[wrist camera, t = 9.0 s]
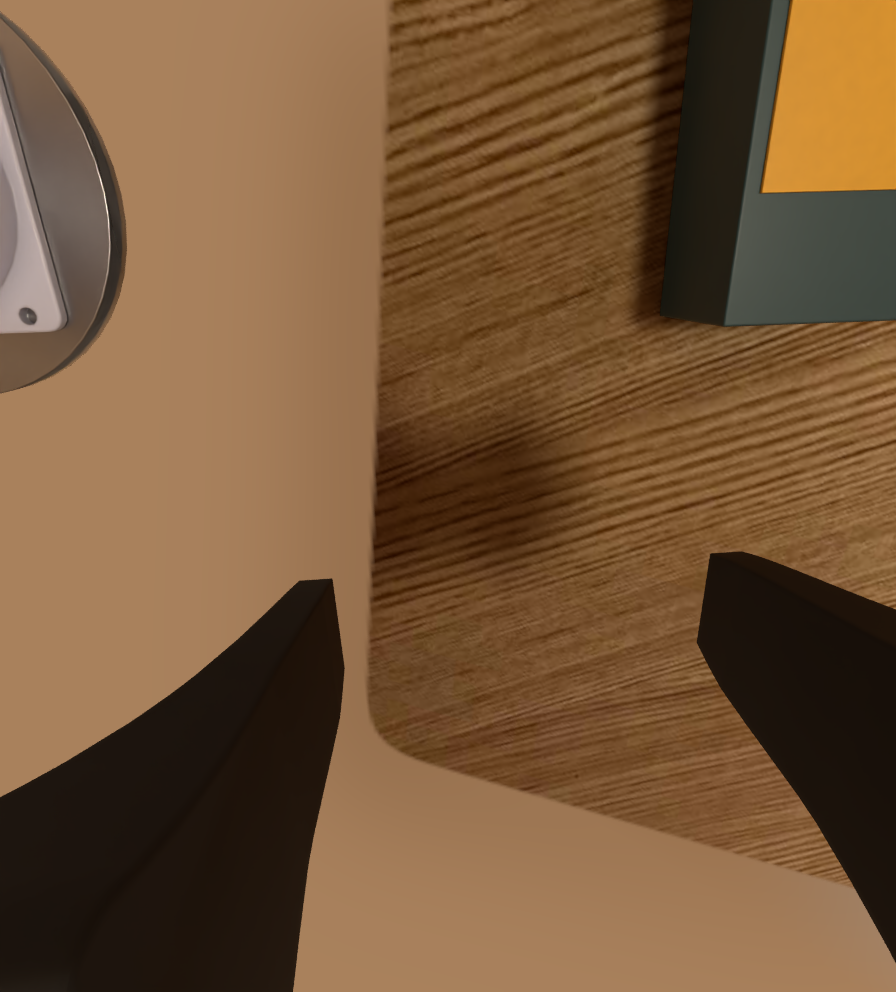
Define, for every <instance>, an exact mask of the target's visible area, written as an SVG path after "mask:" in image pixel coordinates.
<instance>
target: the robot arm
mask: <svg viewBox="0 0 896 992" xmlns="http://www.w3.org/2000/svg"><path fill="white" fill-rule="evenodd" d="M29 308H30V309H31V310H33V311H34V312H35V314H36V316H37V321H36V322H35V323H33V322H32V321H30V320H29V318H28V316H27V310H28V309H29ZM66 322H67V314H66V310H65V307H64V303H63V299H62V296H61V292H60V288H59V285H58V281H57V277H56V274H55V270H54V266H53V263H52V259H51V255H50V252H49V248H48V244H47V241H46V237H45V233H44V230H43V226H42V222H41V219H40V215H39V211H38V208H37V204H36V200H35V197H34V193H33V189H32V186H31V182H30V178H29V175H28V171H27V167H26V164H25V160H24V156H23V153H22V149H21V145H20V142H19V138H18V134H17V131H16V127H15V123H14V120H13V116H12V112H11V109H10V105H9V101H8V98H7V94H6V90H5V87H4V83H3V79H2V76H1V72H0V334H5V333H33V332H52V331H57V330H61V329H62V328H63V327H64V326H65V325H66ZM697 644H698V646H699V648H700V650H701V652H702V654H703V656H704V658H705V660H706V662H707V664H708V666H709V668H710V670H711V671H712V673H713V675H714V677H715V679H716V680H717V682H718V684H719V686H720V688H721V689H722V691H723V692H724V694H725V695H726V696H727V698H728V699H729V701H730V702H731V704H732V705H733V706H734V708H735V709H736V711H737V712H738V713H739V715H740V716H741V718H742V719H743V720H744V722H745V723H746V725H747V726H748V727H749V729H750V730H751V732H752V733H753V734H754V736H755V737H756V738H757V740H758V741H759V743H760V744H761V745H762V747H763V748H764V749H765V751H766V752H767V753H768V755H769V756H770V758H771V759H772V760H773V762H774V763H775V764H776V766H777V767H778V769H779V770H780V771H781V773H782V774H783V776H784V777H785V778H786V780H787V781H788V782H789V784H790V785H791V787H792V788H793V789H794V791H795V792H796V793H797V795H798V796H799V798H800V799H801V801H802V802H803V804H804V805H805V807H806V808H807V810H808V811H809V813H810V814H811V816H812V817H813V819H814V820H815V822H816V823H817V825H818V827H819V828H820V830H821V832H822V833H823V835H824V837H825V838H826V840H827V842H828V844H829V845H830V847H831V849H832V850H833V852H834V854H835V855H836V857H837V859H838V860H839V862H840V864H841V865H842V867H843V869H844V871H845V872H846V874H847V876H848V877H849V879H850V881H851V882H852V884H853V886H854V888H855V890H856V891H857V893H858V895H859V897H860V899H861V900H862V902H863V904H864V906H865V908H866V909H867V911H868V913H869V915H870V917H871V918H872V920H873V922H874V924H875V926H876V927H877V929H878V931H879V933H880V935H881V936H882V938H883V940H884V942H885V944H886V945H887V947H888V949H889V951H890V953H891V955H892V957H893V959H894V960H895V962H896V609H893V608H890V607H888V606H885V605H882V604H880V603H877V602H874V601H872V600H869V599H867V598H864V597H862V596H859V595H857V594H854V593H851V592H849V591H846V590H844V589H841V588H839V587H836V586H834V585H831V584H829V583H826V582H824V581H822V580H819V579H817V578H814V577H812V576H809V575H807V574H804V573H802V572H799V571H797V570H794V569H791V568H789V567H786V566H784V565H781V564H778V563H776V562H773V561H770V560H768V559H765V558H762V557H759V556H756V555H753V554H749V553H745V552H727V553H711V554H710V559H709V566H708V572H707V579H706V585H705V592H704V598H703V605H702V612H701V618H700V625H699V631H698V638H697ZM344 669H345V668H344V661H343V654H342V646H341V639H340V631H339V624H338V616H337V610H336V602H335V594H334V587H333V580H332V579H320V580H305V581H299V582H298V583H297V584H295V585H294V586H293V587H292V588H291V589H290V590H289V591H288V592H287V593H286V594H285V595H284V596H283V597H282V598H281V599H280V600H279V601H278V602H277V603H276V604H275V605H274V606H273V607H272V608H270V609H269V610H268V612H266V613H265V614H264V615H263V616H262V617H261V618H260V619H259V620H258V621H257V622H256V623H255V624H254V625H253V626H252V627H250V628H249V629H248V630H247V631H246V632H245V633H244V634H243V635H242V636H241V637H240V638H239V639H238V640H236V641H235V642H234V643H233V644H232V645H231V646H229V647H228V648H227V649H226V650H225V651H223V652H222V653H221V654H220V655H219V656H218V657H217V658H215V659H214V660H213V661H212V662H211V663H209V664H208V665H207V666H206V667H205V668H203V669H202V670H201V671H200V672H199V673H198V674H196V675H195V676H194V677H193V678H191V679H190V680H189V681H188V682H186V683H185V684H184V685H182V686H181V687H180V688H178V689H177V690H176V691H174V692H173V693H172V694H170V695H169V696H168V697H166V698H165V699H163V700H162V701H160V702H159V703H157V704H156V705H155V706H153V707H152V708H151V709H149V710H147V711H146V712H145V713H143V714H142V715H140V716H139V717H137V718H136V719H134V720H133V721H131V722H130V723H129V724H127V725H125V726H124V727H122V728H120V729H119V730H117V731H115V732H114V733H112V734H110V735H109V736H107V737H105V738H104V739H102V740H101V741H99V742H97V743H96V744H94V745H92V746H91V747H89V748H88V749H86V750H84V751H83V752H81V753H79V754H78V755H76V756H75V757H73V758H71V759H70V760H68V761H66V762H65V763H63V764H61V765H59V766H58V767H56V768H54V769H52V770H51V771H49V772H47V773H45V774H43V775H41V776H39V777H38V778H36V779H34V780H32V781H30V782H29V783H27V784H25V785H23V786H21V787H19V788H17V789H15V790H13V791H11V792H9V793H8V794H6V795H4V796H2V797H0V992H293V987H294V978H295V969H296V961H297V952H298V943H299V935H300V934H299V933H300V927H301V919H302V911H303V903H304V895H305V887H306V879H307V870H308V864H309V858H310V853H311V848H312V842H313V837H314V832H315V828H316V823H317V819H318V814H319V810H320V806H321V800H322V796H323V792H324V788H325V783H326V779H327V774H328V770H329V765H330V761H331V756H332V752H333V747H334V743H335V738H336V734H337V729H338V724H339V719H340V712H341V702H342V692H343V681H344Z"/></svg>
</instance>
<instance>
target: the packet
mask: <svg viewBox="0 0 896 992" xmlns="http://www.w3.org/2000/svg"><path fill="white" fill-rule="evenodd" d="M660 316H664V317H670V318H676V319H682V320H688V321H694V322H699V323H705V324H711V325H717V326H723V327H730V326H757V325H783V324H810V323H836V322H863V321H890V320H896V0H693V8H692V18H691V27H690V37H689V46H688V55H687V65H686V74H685V83H684V93H683V102H682V112H681V121H680V130H679V140H678V149H677V159H676V168H675V177H674V187H673V196H672V206H671V215H670V224H669V234H668V243H667V253H666V262H665V271H664V281H663V290H662V300H661V309H660Z"/></svg>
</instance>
